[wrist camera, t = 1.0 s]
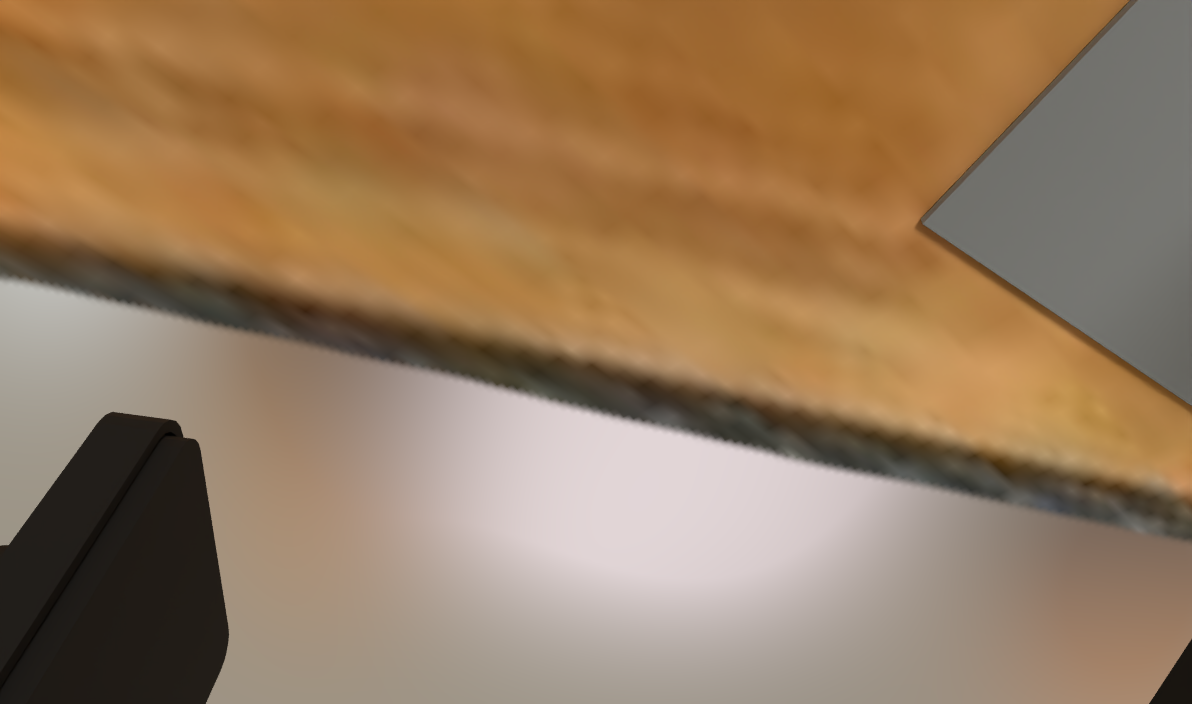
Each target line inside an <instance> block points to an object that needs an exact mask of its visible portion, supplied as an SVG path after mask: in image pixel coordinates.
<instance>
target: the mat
mask: <svg viewBox="0 0 1192 704" xmlns="http://www.w3.org/2000/svg"><path fill="white" fill-rule="evenodd" d="M921 221H922V224H923V225H925V226H926V227H928V228H929V229H931V230H932V231H934V232H935V233H937V234H938V235H940V236H941V237H942V238H944V239H945V240H947V241H948V242H950V243H951V244H953V245H954V246H956V247H957V248H959V249H960V250H962V251H963V252H965V253H966V254H968V255H969V256H971V257H972V258H974V259H975V260H977V261H978V262H980V263H981V264H982V265H984V266H985V267H987V268H988V269H990V270H991V271H993V272H994V273H996V274H997V275H999V276H1000V277H1002V278H1003V279H1005V280H1006V281H1008V282H1009V283H1011V284H1012V285H1014V286H1015V287H1017V288H1018V289H1019V290H1021V291H1022V292H1024V293H1025V294H1027V295H1028V296H1030V297H1031V298H1033V299H1034V300H1036V301H1037V302H1039V303H1040V304H1042V305H1043V306H1045V307H1046V308H1048V309H1049V310H1051V311H1052V312H1054V313H1055V314H1056V315H1058V316H1059V317H1061V318H1062V319H1064V320H1065V321H1067V322H1068V323H1070V324H1071V325H1073V326H1074V327H1076V328H1077V329H1079V330H1080V331H1082V332H1083V333H1085V334H1086V335H1088V336H1089V337H1091V338H1092V339H1094V340H1095V341H1096V342H1098V343H1099V344H1101V345H1102V346H1104V347H1105V348H1107V349H1108V350H1110V351H1111V352H1113V353H1114V354H1116V355H1117V356H1119V357H1120V358H1122V359H1123V360H1125V361H1126V362H1128V363H1129V364H1131V365H1132V366H1133V367H1135V368H1136V369H1138V370H1139V371H1141V372H1142V373H1144V374H1145V375H1147V376H1148V377H1150V378H1151V379H1153V380H1154V381H1156V382H1157V383H1159V384H1160V385H1162V386H1163V387H1165V388H1166V389H1168V390H1169V391H1170V392H1172V393H1173V394H1175V395H1176V396H1178V397H1179V398H1181V399H1182V400H1184V401H1185V402H1187V403H1188V404H1190V405H1191V406H1192V0H1130V1H1129V2H1128V3H1127V4H1126V5H1125V6H1124V8H1123V9H1122V10H1121V11H1120V12H1119V13H1118V14H1117V15H1116V16H1115V17H1114V18H1113V19H1112V20H1111V21H1110V22H1109V23H1108V24H1107V25H1106V26H1105V27H1104V28H1103V29H1102V30H1101V31H1100V33H1099V34H1098V35H1097V36H1096V37H1095V38H1094V39H1093V40H1092V41H1091V42H1090V43H1089V44H1088V45H1087V46H1086V47H1085V48H1084V49H1083V50H1082V51H1081V52H1080V53H1079V54H1078V55H1077V57H1076V58H1075V59H1074V60H1073V61H1072V62H1071V63H1070V64H1069V65H1068V66H1067V67H1066V68H1065V69H1064V70H1063V71H1062V72H1061V73H1060V74H1059V75H1058V76H1057V77H1056V78H1055V79H1054V80H1053V82H1052V83H1051V84H1050V85H1049V86H1048V87H1047V88H1046V89H1045V90H1044V91H1043V92H1042V93H1041V94H1040V95H1039V96H1038V97H1037V98H1036V99H1035V100H1034V101H1033V102H1032V103H1031V104H1030V106H1029V107H1028V108H1027V109H1026V110H1025V111H1024V112H1023V113H1022V114H1021V115H1020V116H1019V117H1018V118H1017V119H1016V120H1015V121H1014V122H1013V123H1012V124H1011V125H1010V126H1009V127H1008V128H1007V129H1006V131H1005V132H1004V133H1003V134H1002V135H1001V136H1000V137H999V138H998V139H997V140H996V141H995V142H994V143H993V144H992V145H991V146H990V147H989V148H988V149H987V150H986V151H985V152H984V153H983V155H982V156H981V157H980V158H979V159H978V160H977V161H976V162H975V163H974V164H973V165H972V166H971V167H970V168H969V169H968V170H967V171H966V172H965V173H964V174H963V175H962V176H961V177H960V179H959V180H958V181H957V182H956V183H955V184H954V185H953V186H952V187H951V188H950V189H949V190H948V191H947V192H946V193H945V194H944V195H943V196H942V197H941V198H940V199H939V200H938V201H937V202H936V204H935V205H934V206H933V207H932V208H931V209H930V210H929V211H928V212H927V213H926V214H925V215H924V216H923V217H922V218H921Z"/></svg>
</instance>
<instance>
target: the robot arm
mask: <svg viewBox="0 0 1192 704" xmlns="http://www.w3.org/2000/svg"><path fill="white" fill-rule="evenodd" d="M228 638H229V630H228V622H227V616H226V609H225V603H224V596H223V590H222V584H221V577H220V572H219V565H218V558H217V552H216V546H215V540H214V533H213V526H212V520H211V514H210V507H209V501H208V495H207V488H206V482H205V476H204V470H203V463H202V457H201V450H200V447H199V444H198V442H197V441H196V440H195V439H189V438H183V434H182V431H181V427H180V426H179V424H178V423H177V422H176V421H173V420H168V419H161V418H154V417H146V416H138V415H131V414H123V413H116V412H111V413H109V414H107V415H105V416H104V417H103V418H102V419H101V420H100V421H99V422H98V423H97V425H96V426H95V427H94V429H93V430H92V432H91V433H90V434H89V436H88V437H87V438H86V440H85V441H84V443H83V444H82V446H81V447H80V448H79V449H78V451H77V453H76V454H75V455H74V457H73V458H72V459H71V460H70V462H69V463H68V465H67V466H66V467H65V469H64V470H63V471H62V473H61V474H60V476H59V477H58V478H57V480H56V481H55V482H54V484H53V485H52V487H51V488H50V489H49V491H48V492H47V493H46V495H45V496H44V498H43V499H42V500H41V502H40V503H39V504H38V506H37V507H36V508H35V510H34V511H33V513H32V514H31V515H30V517H29V518H28V520H27V521H26V522H25V524H24V525H23V526H22V528H21V529H20V530H19V532H18V533H17V535H16V536H15V537H14V539H13V540H12V542H11V543H10V544H9V545H2V546H0V704H206V702H207V699H208V697H209V695H210V693H211V690H212V688H213V686H214V684H215V682H216V680H217V677H218V675H219V673H220V671H221V668H222V665H223V663H224V660H225V656H226V651H227V646H228ZM1149 704H1192V640H1191V641H1190V643H1189V644H1188V646H1187V647H1186V649H1185V650H1184V652H1183V653H1182V655H1181V656H1180V658H1179V659H1178V661H1177V662H1176V664H1175V665H1174V667H1173V668H1172V670H1171V671H1170V673H1169V674H1168V676H1167V677H1166V679H1165V681H1164V682H1163V684H1162V685H1161V687H1160V688H1159V690H1158V691H1157V693H1156V694H1155V696H1154V697H1153V699H1152V700H1151V702H1150V703H1149Z"/></svg>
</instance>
